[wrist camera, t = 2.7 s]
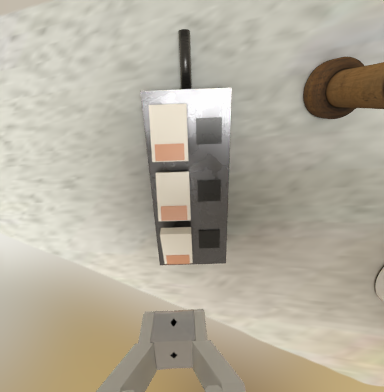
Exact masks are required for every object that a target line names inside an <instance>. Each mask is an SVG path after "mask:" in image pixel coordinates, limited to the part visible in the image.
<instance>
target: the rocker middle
mask: <svg viewBox="0 0 384 392" xmlns="http://www.w3.org/2000/svg"><path fill="white" fill-rule="evenodd" d="M156 190H157V206H158V221H188V220H191V210H190V182H189V171H179V172H156Z"/></svg>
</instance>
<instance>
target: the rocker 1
mask: <svg viewBox="0 0 384 392" xmlns="http://www.w3.org/2000/svg"><path fill="white" fill-rule="evenodd" d="M149 119H150V135H151V151H152V162H173V161H189V160H188V132H187V105H186V104H163V105H149Z"/></svg>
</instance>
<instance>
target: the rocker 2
mask: <svg viewBox="0 0 384 392" xmlns="http://www.w3.org/2000/svg"><path fill="white" fill-rule="evenodd" d="M160 239H161V245H162V251H163V257H164V263H165V264H190V263H193V259H192V235H191V227H176V228H161V230H160Z"/></svg>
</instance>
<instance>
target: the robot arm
mask: <svg viewBox="0 0 384 392" xmlns="http://www.w3.org/2000/svg"><path fill="white" fill-rule="evenodd" d="M375 289H376V293H377V295H378V297H379V298H380V299H381V300H382V301H383V302H384V268H383V269H382V270H381V272H380V273H379V275H378V277H377V280H376V284H375ZM172 368H193V370H194V372H195V374H196V376H197V377H198V379H199V381H200V383H201V385H202V386H203V388H204V390H205V392H246V389H245V385H244V382H243V381H242V380H241V379H240V377H239V376H238V374H237V373H236V372H235V371H234V369H233V368H232V367H231V366H230V364H229V363H228V362H227V360H226V359H225V358H224V357H223V355H222V354H221V353H220V352H219V350H218V349H217V348H216V346H215V345H214V344H213V343H212V342H211V340H207V331H206V323H205V314H204V310H203V309H198V310H179V311H155V312H145V313H144V315H143V320H142V325H141V332H140V336H139V342H138V344H135V345H134V346H133V347H132V348H131V349H130V351H129V352H128V353H127V354H126V356H125V357H124V358H123V359H122V360H121V362H120V363H119V364H118V365H117V366H116V368H115V369H114V370H113V371H112V373H111V374H110V375H109V376H108V377H107V379H106V380H105V381H104V382H103V384H102V385H101V386H100V387H99V388H98V390H97V391H96V392H145V391H146V389H147V387H148V385H149V383H150V382H151V380H152V378H153V377H154V375H155V373H156V370H160V369H172Z"/></svg>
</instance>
